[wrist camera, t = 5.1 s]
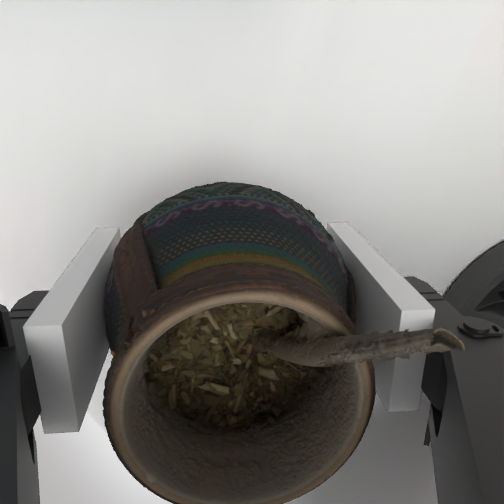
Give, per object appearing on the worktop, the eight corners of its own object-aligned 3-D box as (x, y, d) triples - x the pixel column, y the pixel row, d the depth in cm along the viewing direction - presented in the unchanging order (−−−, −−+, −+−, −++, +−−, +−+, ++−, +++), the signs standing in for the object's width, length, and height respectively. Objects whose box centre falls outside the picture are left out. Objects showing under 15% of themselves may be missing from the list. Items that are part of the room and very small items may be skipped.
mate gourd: (83, 291, 16) (-84, 567, 7) (202, 111, 15) (197, 155, 5) (246, 382, 18) (289, 693, 9) (367, 233, 17) (579, 423, 7)
